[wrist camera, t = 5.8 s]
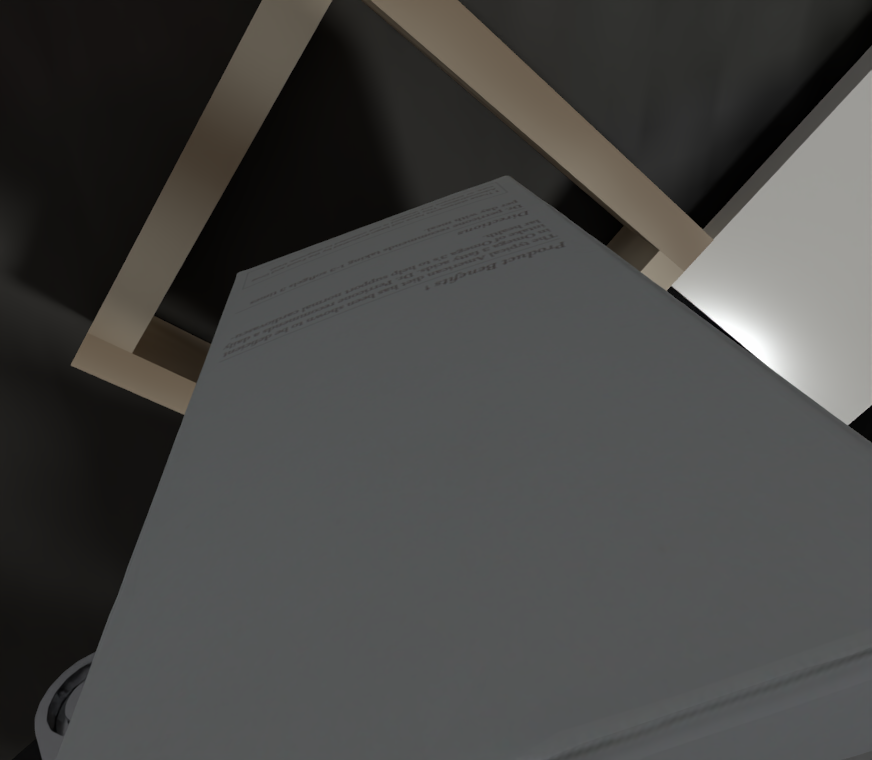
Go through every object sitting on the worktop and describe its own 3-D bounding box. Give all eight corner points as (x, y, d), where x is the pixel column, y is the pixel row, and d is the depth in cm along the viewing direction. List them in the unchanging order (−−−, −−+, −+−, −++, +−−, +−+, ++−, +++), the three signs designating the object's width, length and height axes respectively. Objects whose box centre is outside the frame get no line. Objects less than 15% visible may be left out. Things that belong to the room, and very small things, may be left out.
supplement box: (343, 484, 18) (360, 1148, 7) (229, 266, 14) (-92, 993, 3) (571, 406, 18) (935, 968, 7) (520, 164, 14) (1146, 591, 3)
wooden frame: (434, 484, 24) (445, 528, 22) (99, 325, 18) (70, 365, 16) (672, 216, 20) (713, 239, 18) (326, -102, 14) (326, -123, 12)
